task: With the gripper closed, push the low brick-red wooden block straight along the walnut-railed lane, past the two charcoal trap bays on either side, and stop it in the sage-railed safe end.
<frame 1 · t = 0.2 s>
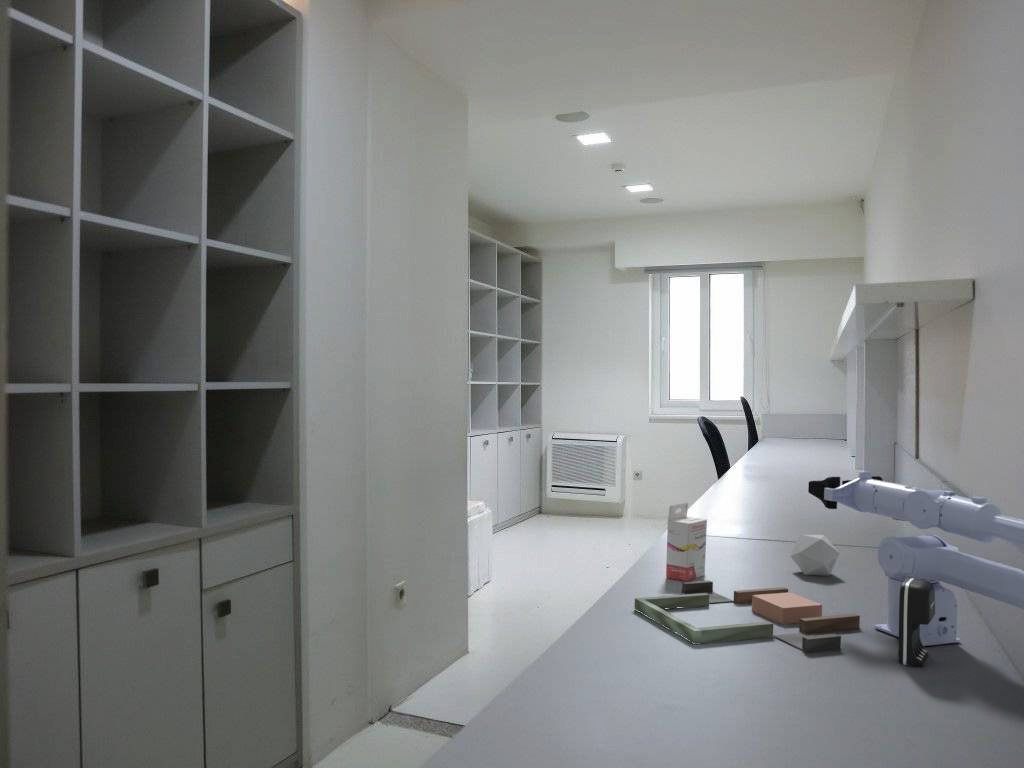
hand: (826, 486, 139), 21 cm above the table, tool horizontal, fingers open, 7 cm apart
ink cartridge box: (686, 577, 155), on the table
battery: (916, 663, 108), on the table
brick block: (786, 617, 130), on the table
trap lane: (751, 617, 127), on the table
die: (814, 574, 161), on the table
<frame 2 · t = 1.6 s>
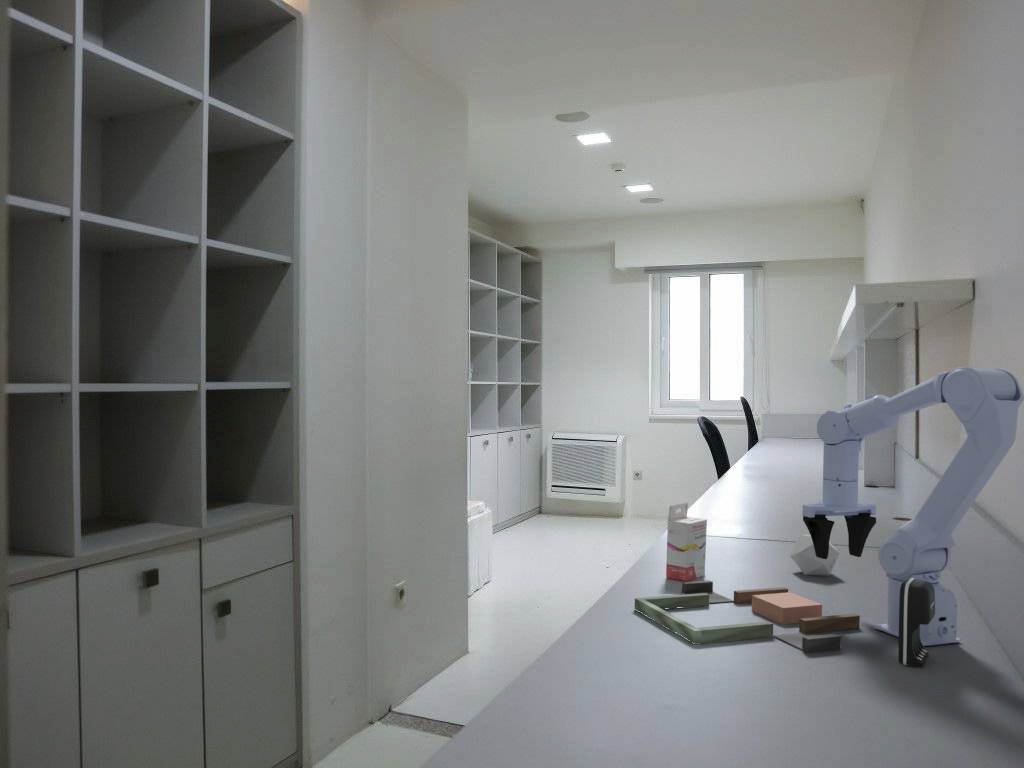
hand: (838, 556, 133), 9 cm above the table, tool pointing down, fingers open, 7 cm apart
nothing on the table moved.
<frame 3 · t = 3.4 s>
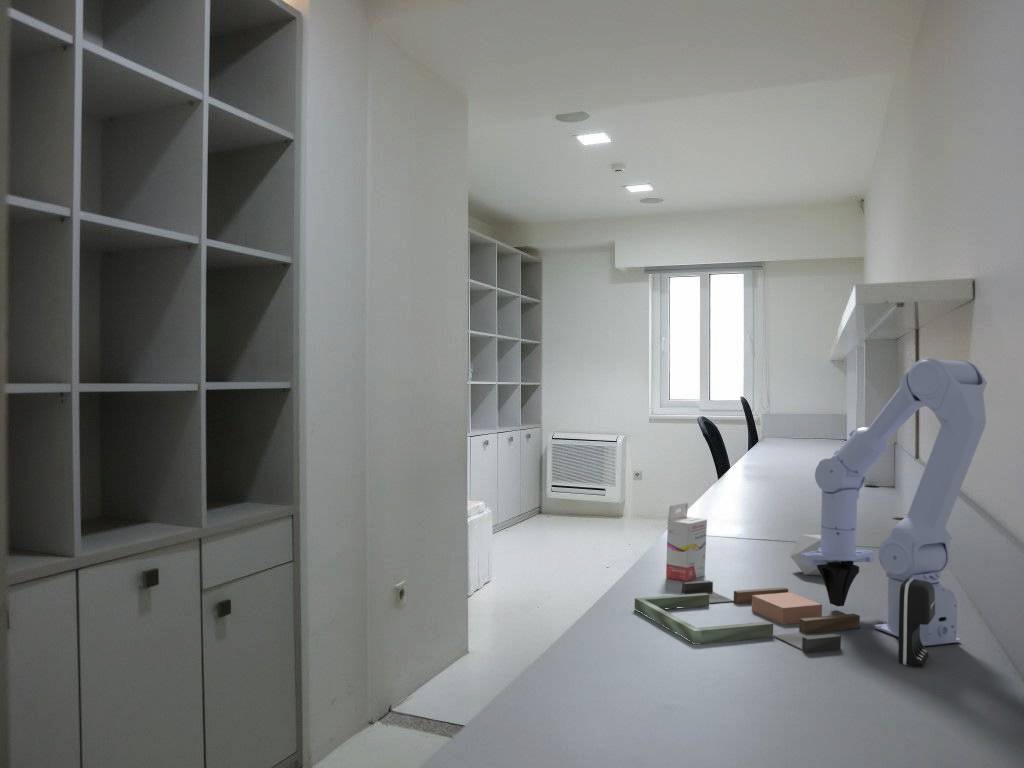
hand: (836, 604, 133), 1 cm above the table, tool pointing down, fingers closed
nothing on the table moved.
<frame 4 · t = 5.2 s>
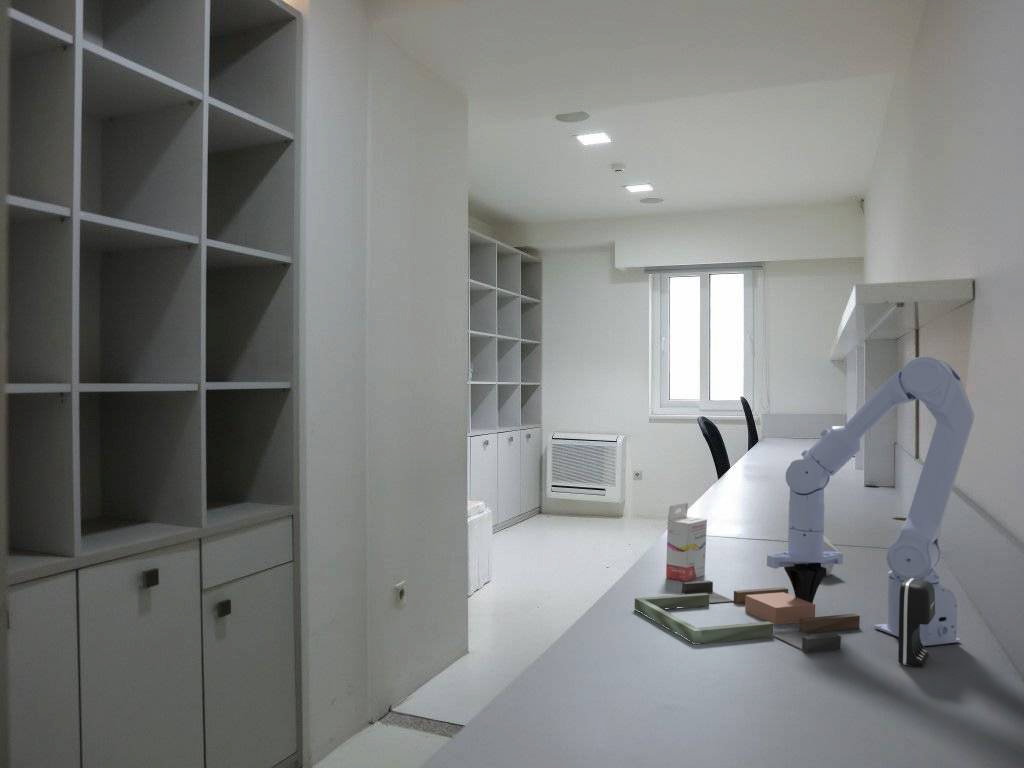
hand: (804, 607, 131), 1 cm above the table, tool pointing down, fingers closed
brick block: (779, 617, 129), on the table, touching gripper
everything else where it was.
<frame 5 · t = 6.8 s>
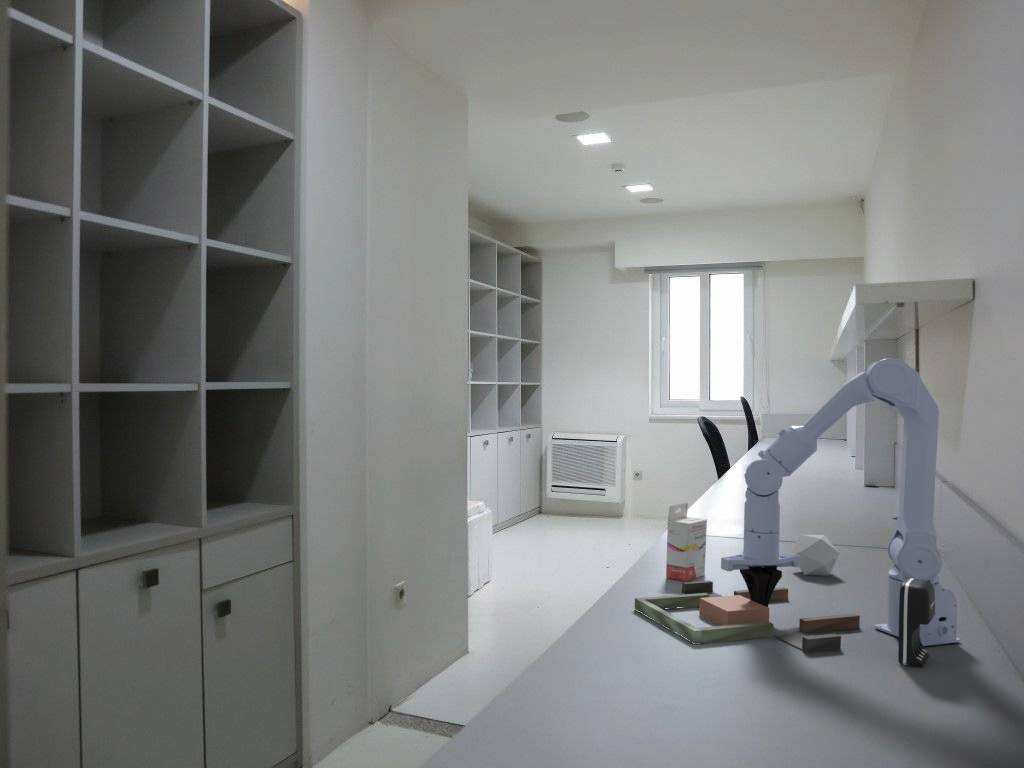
hand: (759, 611, 128), 1 cm above the table, tool pointing down, fingers closed
brick block: (733, 621, 126), on the table
everything else where it was.
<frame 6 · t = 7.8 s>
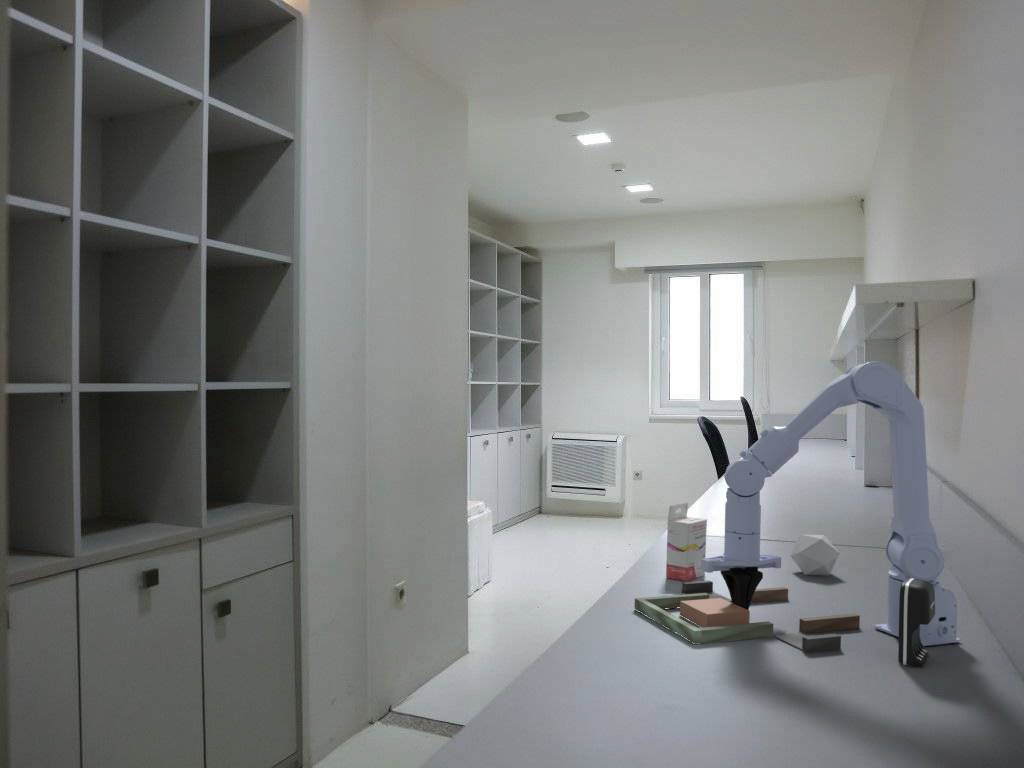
hand: (740, 612, 127), 1 cm above the table, tool pointing down, fingers closed
brick block: (713, 624, 125), on the table, touching gripper
everything else where it was.
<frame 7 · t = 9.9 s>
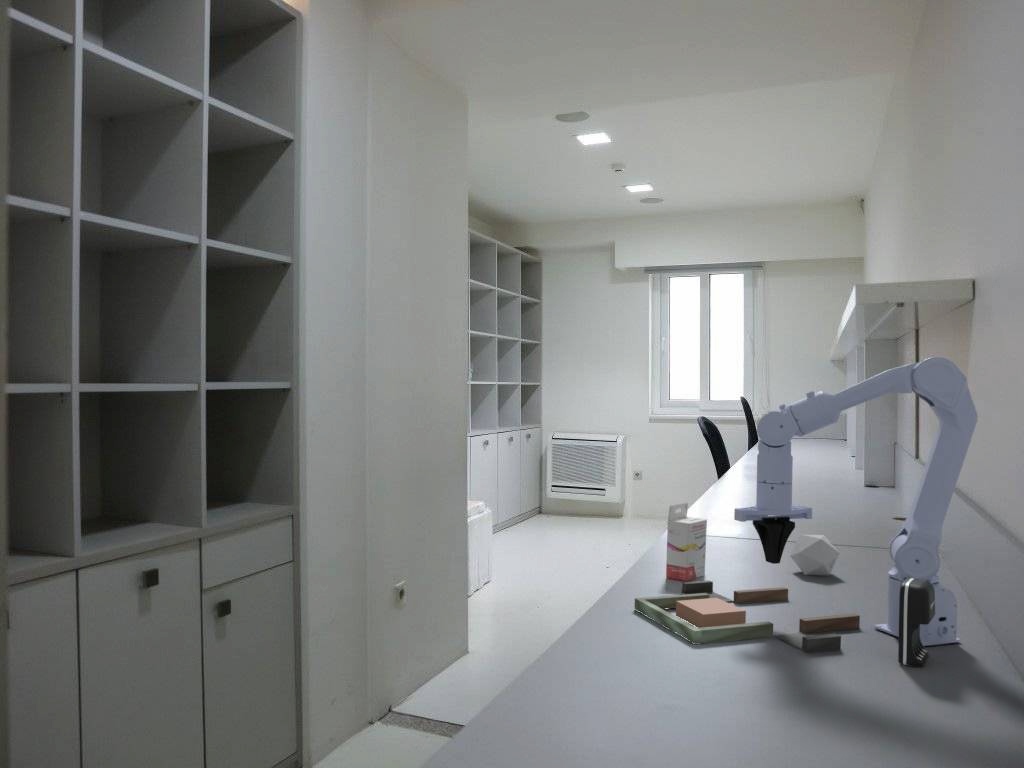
hand: (772, 562, 129), 9 cm above the table, tool pointing down, fingers closed
brick block: (709, 624, 125), on the table
everything else where it was.
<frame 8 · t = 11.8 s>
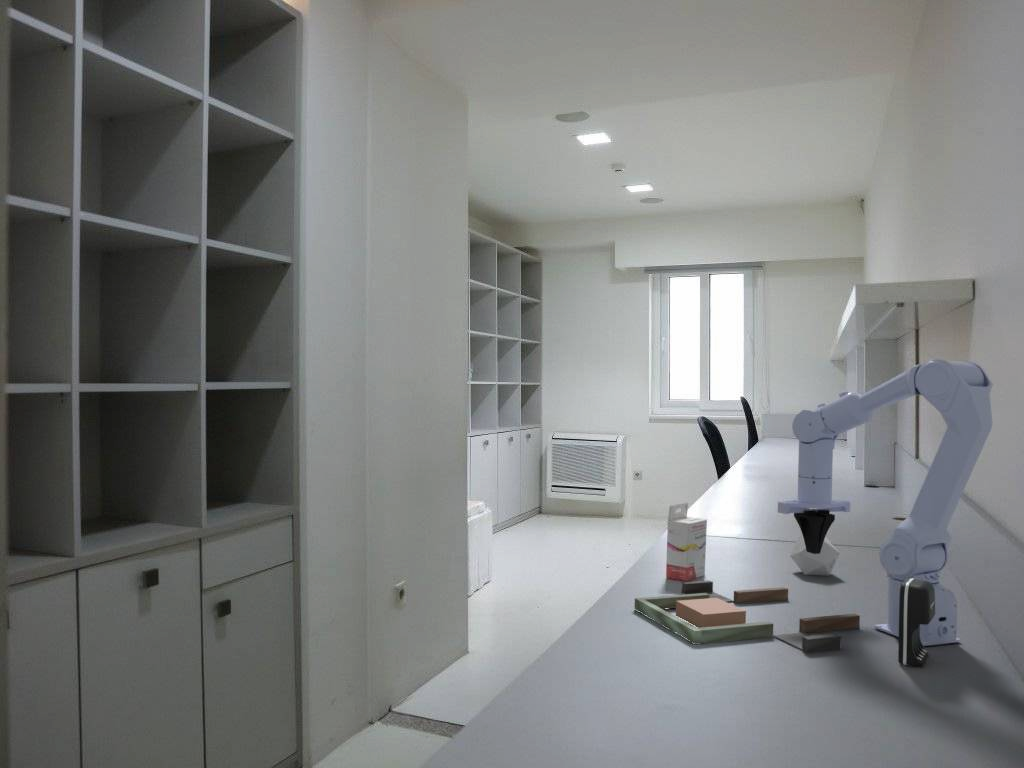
hand: (813, 552, 136), 9 cm above the table, tool pointing down, fingers closed
nothing on the table moved.
at the end: brick block inside the target area (1.3 cm from its centre), on the table; brick block tilted 0° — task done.
